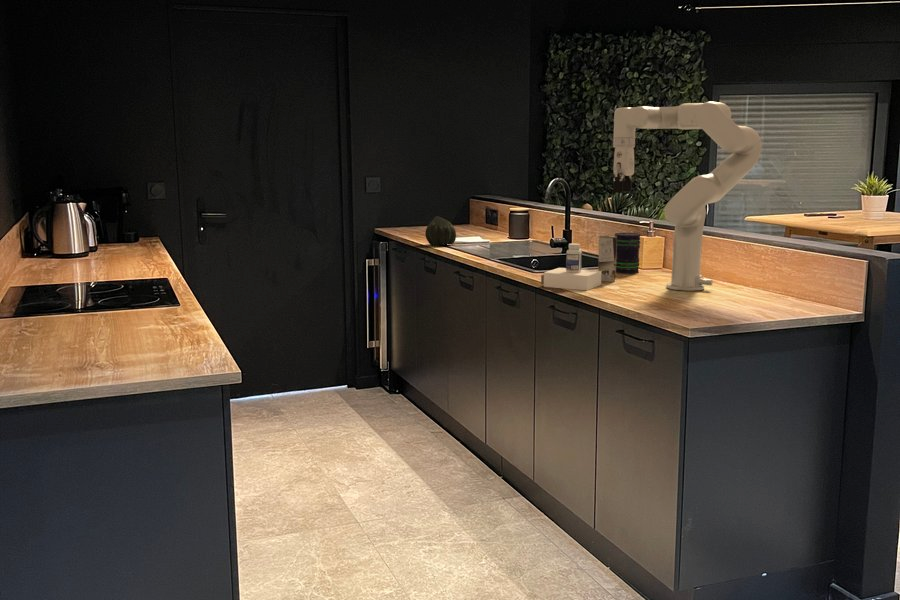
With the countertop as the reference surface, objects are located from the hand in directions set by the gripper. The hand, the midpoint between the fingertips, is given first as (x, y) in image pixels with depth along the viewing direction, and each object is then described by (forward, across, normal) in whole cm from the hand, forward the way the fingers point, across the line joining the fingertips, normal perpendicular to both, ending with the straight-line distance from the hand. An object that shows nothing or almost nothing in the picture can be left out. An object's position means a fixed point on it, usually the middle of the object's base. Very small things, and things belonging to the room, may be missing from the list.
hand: (622, 191), depth 309 cm
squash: (+33, +67, +113) cm, 135 cm away
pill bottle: (+28, -18, +11) cm, 35 cm away
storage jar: (+32, +24, +5) cm, 41 cm away
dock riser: (+32, -18, +11) cm, 39 cm away
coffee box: (+32, +1, +5) cm, 33 cm away
